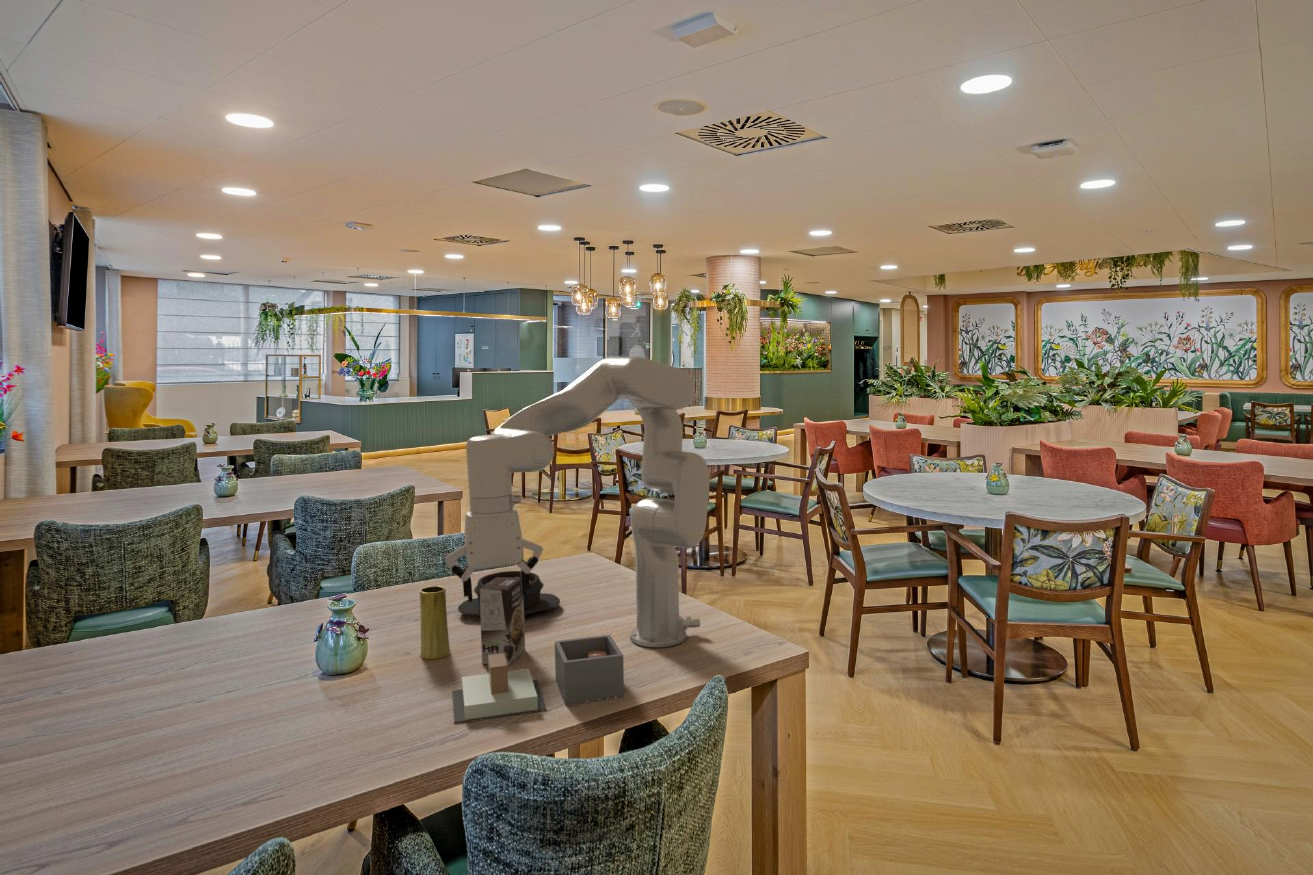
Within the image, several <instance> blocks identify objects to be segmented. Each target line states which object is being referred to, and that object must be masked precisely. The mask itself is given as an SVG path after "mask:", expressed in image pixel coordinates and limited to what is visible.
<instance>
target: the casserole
mask: <svg viewBox="0 0 1313 875" xmlns="http://www.w3.org/2000/svg"><path fill="white" fill-rule="evenodd" d="M520 571H521V570H508V571H499V572H494V573H490V574H487V575H484V576H482V577H480V578H479V579H478V581H477V584H476V586H474V588H473V591H474V593H475V594H476V595H477V597H476V598H475V597H474V598H472V599H473V601H472V602H468V599H467V600H464V601H463V602H461V603H460V604H459V605H458V607H457V611H458V612H459V613H461V614H462V615H465V616H474V617H475V616H478V617H481V616H480V588H481V587H483V586H484V585H486V584H487V583H489V582H490V581H492V580H493V579H494V578H496V577H517V578H520ZM529 583H530V589H526V590H527V595H523V599H524V617H525V616H527V615H528V616H529V615H530V614H534V613H537V612H544V611H548V610H552V609H555V608H556V607H558V606H559V605H560V603H561V599H560V598H559V597H558V595H557V596H556V595H555V594H553V593H545V592H544V593H541V592H542V591H541V590H542V589H543V588H544V583H543V582H542V581H541V579H540V577H539V575H538V574H536V573H534V572H530V573H529Z"/></svg>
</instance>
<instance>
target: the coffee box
mask: <svg viewBox="0 0 1313 875" xmlns="http://www.w3.org/2000/svg"><path fill="white" fill-rule="evenodd" d="M479 617H480V640H481V641H480V642H481V644H480V645H481V647H480V648H481V664H487V665H488V655H493V654H501V653H504V654H505V658H506V662H507V667H508V666H511V665H512V663H514V661H515V660H516V659H517V658H518V657H520V655H521V654H522V653H523V652H524V651H525V650H526V638H525V635H526V634H525V616H524V599H523V594H522V592H521V582H520V578H517V577H496V578H494V579H493V580H492V581H490V582H489V583H487V584H486V585H484V586H483V587H481V588H480V616H479Z"/></svg>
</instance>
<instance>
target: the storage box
mask: <svg viewBox="0 0 1313 875" xmlns="http://www.w3.org/2000/svg"><path fill="white" fill-rule="evenodd" d="M554 662H555V665H554V669H555V683H556V682H557V683H556V685H557V688H558V690H559V692H560V696H561V695H562V696H561V698H562V701H563V700H564V701H563V703H564V706H568V705H567V704H570V705H576V704H582V703H583V702H584V703H587V702H586V701H591V702H596V701H595V700H598V701H600V700H599V699H605V700H608V699H607V698H612V699H616V698H615V697H619V698H624V697H625V680H624V678H625V677H624V670H625V669H624V668H625V667H624V654H623V652H622V651H621V649H620V648H619V646H618V645H617V644H616V642H615V640H614V639H613V637H612V636H611V634H604V635H595V636H587V637H580V638H569V639H561V640H555V641H554ZM584 703H583V704H584Z"/></svg>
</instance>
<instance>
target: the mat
mask: <svg viewBox="0 0 1313 875" xmlns="http://www.w3.org/2000/svg"><path fill="white" fill-rule="evenodd" d="M532 681H533V684H534V687H535V690H536V693H537V701H538V710H531V711H524V712H517V713H510V714H503V715H496V716H489V717H482V718H475V719H468V720H465V713H464V702H463V691H462V688H461V689H455V690H452V707H453V708H452V709H453V722H454V723H455V724H460V723H459V722H462V723H465V722H464V721H469V722H474V721H473V720H476V721H481V720H480V719H483V720H489V719H495V718H503V716H504V717H509V716H516V715H517V714H518V715H523V714H524V715H525V714H531V713H530V712H532V713H537V712H536V711H539V712H543V711H542V710H546V711H547V706H546V702H545V700H544V696H543V693H542V690H541V688H540V685H539V681H538V679H532ZM518 715H517V716H518Z"/></svg>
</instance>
